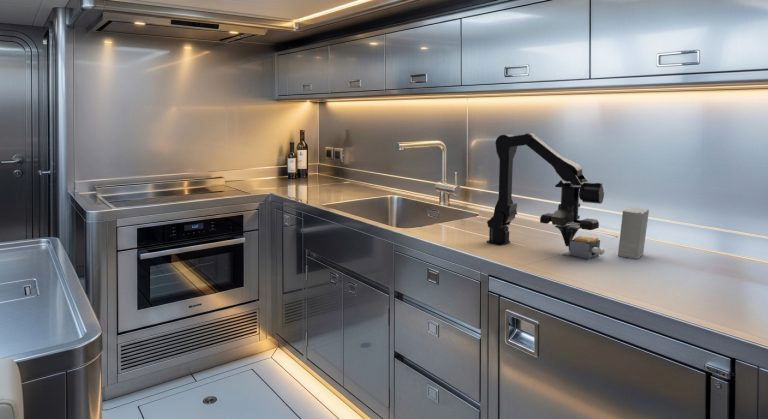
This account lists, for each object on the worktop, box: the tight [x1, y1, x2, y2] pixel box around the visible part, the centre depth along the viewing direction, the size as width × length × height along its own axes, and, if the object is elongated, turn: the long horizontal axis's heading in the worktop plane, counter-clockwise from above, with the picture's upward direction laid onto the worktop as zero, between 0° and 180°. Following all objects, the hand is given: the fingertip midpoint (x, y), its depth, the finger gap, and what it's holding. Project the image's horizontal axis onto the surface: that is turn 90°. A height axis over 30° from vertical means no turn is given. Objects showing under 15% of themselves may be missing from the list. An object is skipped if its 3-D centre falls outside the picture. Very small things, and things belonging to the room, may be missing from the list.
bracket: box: [561, 236, 601, 261], centre depth 179 cm, size 9×8×6 cm
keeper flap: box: [573, 235, 599, 243], centre depth 178 cm, size 6×4×1 cm
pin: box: [568, 243, 605, 256], centre depth 178 cm, size 11×4×4 cm, turn 44°
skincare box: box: [617, 206, 650, 260], centre depth 178 cm, size 8×7×16 cm
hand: (567, 246), depth 183 cm, fingers closed
